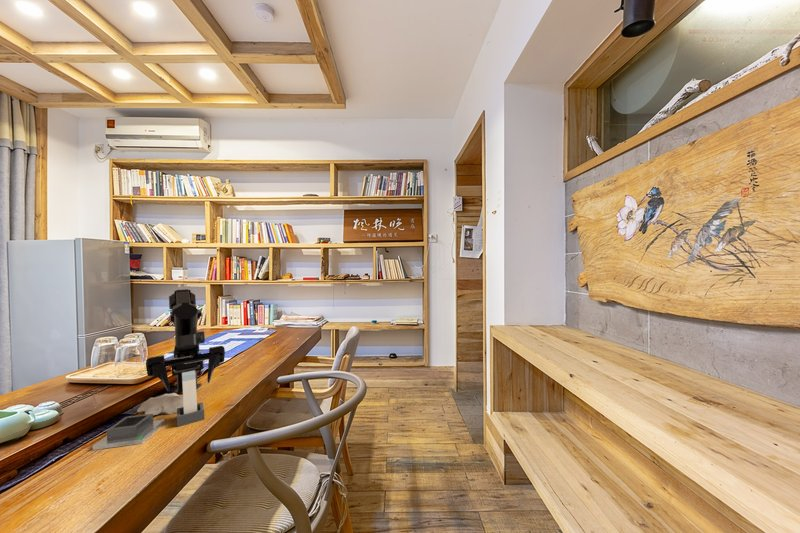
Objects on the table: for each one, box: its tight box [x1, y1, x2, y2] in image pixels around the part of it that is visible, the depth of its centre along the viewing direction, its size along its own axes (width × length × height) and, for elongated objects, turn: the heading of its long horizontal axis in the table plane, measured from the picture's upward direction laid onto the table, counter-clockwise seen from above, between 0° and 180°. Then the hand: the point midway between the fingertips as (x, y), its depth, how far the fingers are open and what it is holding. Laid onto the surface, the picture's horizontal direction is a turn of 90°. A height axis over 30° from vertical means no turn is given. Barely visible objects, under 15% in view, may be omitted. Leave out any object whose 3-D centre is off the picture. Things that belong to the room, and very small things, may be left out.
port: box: [92, 414, 166, 451], centre depth 78 cm, size 10×10×4 cm
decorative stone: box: [136, 392, 184, 417], centre depth 92 cm, size 11×4×15 cm
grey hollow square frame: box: [176, 402, 205, 427], centre depth 85 cm, size 7×6×2 cm
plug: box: [182, 370, 198, 414], centre depth 85 cm, size 4×3×12 cm
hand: (189, 386), depth 86 cm, fingers open, 9 cm apart
